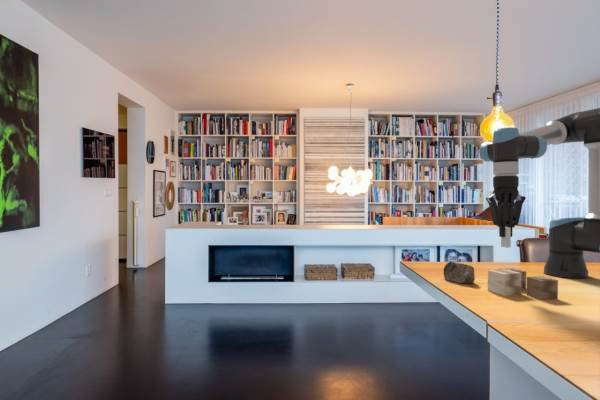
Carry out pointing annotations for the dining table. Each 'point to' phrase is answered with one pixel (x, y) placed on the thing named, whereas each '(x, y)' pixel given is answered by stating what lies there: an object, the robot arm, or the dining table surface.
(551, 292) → the marked block left
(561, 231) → the robot arm
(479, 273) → the dining table surface
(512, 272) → the plain block
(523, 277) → the marked block near
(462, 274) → the stone
